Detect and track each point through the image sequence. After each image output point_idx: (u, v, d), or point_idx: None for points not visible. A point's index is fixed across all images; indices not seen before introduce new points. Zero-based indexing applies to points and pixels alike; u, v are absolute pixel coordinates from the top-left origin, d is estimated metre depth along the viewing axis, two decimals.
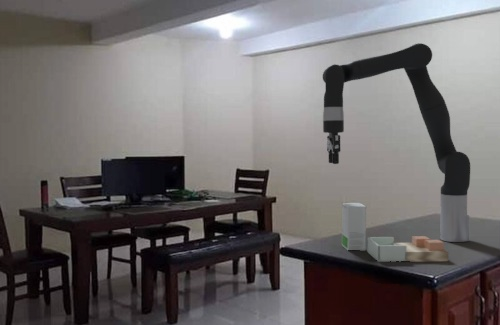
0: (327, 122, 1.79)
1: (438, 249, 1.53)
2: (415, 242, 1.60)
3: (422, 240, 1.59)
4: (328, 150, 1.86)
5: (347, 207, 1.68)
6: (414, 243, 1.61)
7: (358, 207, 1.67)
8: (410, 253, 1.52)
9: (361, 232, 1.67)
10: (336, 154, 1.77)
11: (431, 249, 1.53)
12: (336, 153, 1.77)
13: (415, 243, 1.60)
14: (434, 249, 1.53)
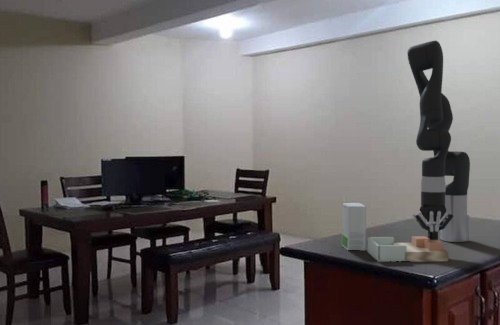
0: (444, 194, 1.58)
1: (438, 249, 1.53)
2: (415, 242, 1.60)
3: (422, 240, 1.59)
4: (432, 227, 1.60)
5: (347, 207, 1.68)
6: (414, 243, 1.61)
7: (358, 207, 1.67)
8: (410, 253, 1.52)
9: (361, 232, 1.67)
10: None
11: (431, 249, 1.53)
12: None
13: (415, 243, 1.60)
14: (434, 249, 1.53)
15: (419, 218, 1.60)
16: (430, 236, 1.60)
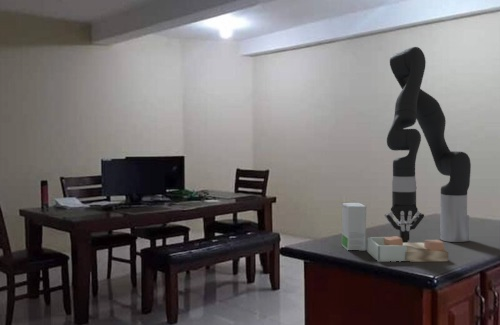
0: (414, 193, 1.58)
1: (438, 249, 1.53)
2: (388, 243, 1.60)
3: (394, 241, 1.59)
4: (403, 227, 1.60)
5: (347, 207, 1.68)
6: (387, 244, 1.61)
7: (358, 207, 1.67)
8: (410, 253, 1.52)
9: (361, 232, 1.67)
10: None
11: (431, 249, 1.53)
12: None
13: (388, 244, 1.60)
14: (434, 249, 1.53)
15: (390, 218, 1.60)
16: (401, 236, 1.61)
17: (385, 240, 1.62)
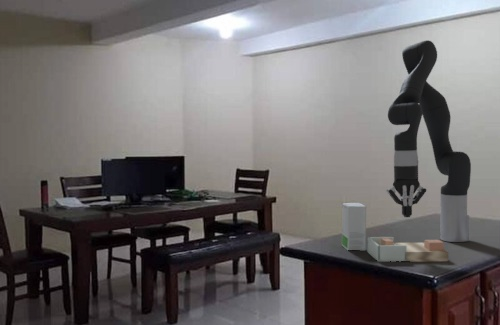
0: (416, 167, 1.57)
1: (438, 249, 1.53)
2: None
3: None
4: (406, 202, 1.59)
5: (347, 207, 1.68)
6: None
7: (358, 207, 1.67)
8: (410, 253, 1.52)
9: (361, 232, 1.67)
10: None
11: (431, 249, 1.53)
12: None
13: None
14: (434, 249, 1.53)
15: (392, 193, 1.59)
16: (404, 210, 1.60)
17: None
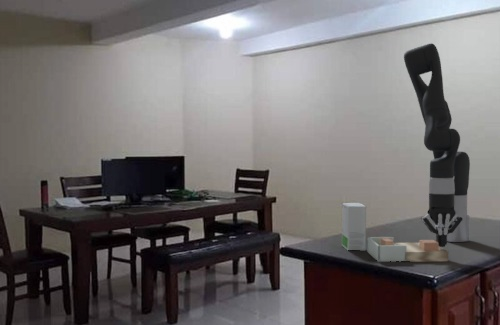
0: (453, 196, 1.52)
1: (433, 249, 1.53)
2: None
3: None
4: (441, 231, 1.54)
5: (347, 207, 1.68)
6: None
7: (358, 207, 1.67)
8: (410, 253, 1.52)
9: (361, 232, 1.67)
10: None
11: (426, 249, 1.53)
12: None
13: None
14: (429, 249, 1.53)
15: (427, 221, 1.54)
16: (439, 240, 1.54)
17: None
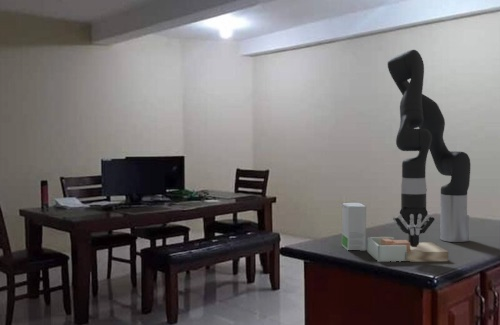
0: (425, 196, 1.52)
1: None
2: None
3: None
4: (413, 231, 1.54)
5: (347, 207, 1.68)
6: None
7: (358, 207, 1.67)
8: (410, 253, 1.52)
9: (361, 232, 1.67)
10: None
11: None
12: None
13: None
14: None
15: (399, 221, 1.54)
16: (411, 240, 1.54)
17: None
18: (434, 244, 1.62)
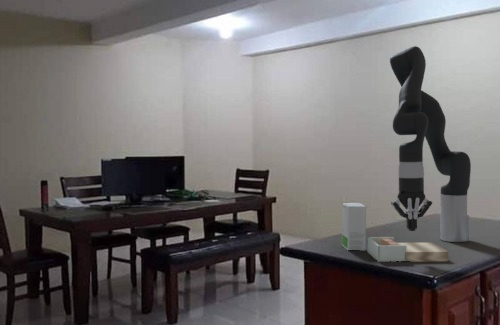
0: (422, 179, 1.52)
1: None
2: None
3: None
4: (411, 215, 1.54)
5: (347, 207, 1.68)
6: None
7: (358, 207, 1.67)
8: (410, 253, 1.52)
9: (361, 232, 1.67)
10: None
11: None
12: None
13: None
14: None
15: (397, 205, 1.53)
16: (409, 224, 1.54)
17: None
18: (434, 244, 1.62)
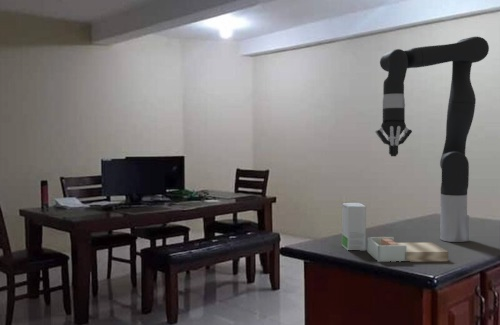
0: (403, 109, 1.71)
1: None
2: None
3: None
4: (392, 142, 1.73)
5: (347, 207, 1.68)
6: None
7: (358, 207, 1.67)
8: (410, 253, 1.52)
9: (361, 232, 1.67)
10: None
11: None
12: None
13: None
14: None
15: (380, 133, 1.73)
16: (391, 150, 1.73)
17: None
18: (434, 244, 1.62)
